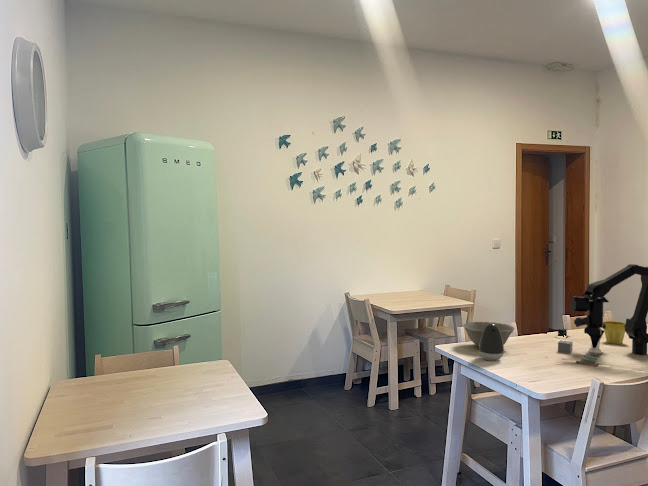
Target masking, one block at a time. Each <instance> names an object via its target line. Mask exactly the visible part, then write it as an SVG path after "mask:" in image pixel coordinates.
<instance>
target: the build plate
mask: <svg viewBox="0 0 648 486" xmlns="http://www.w3.org/2000/svg"><path fill="white" fill-rule="evenodd" d="M567 332H568V331H567V328H562V327H561V328H558V329H557V336H563V337H564V335H565V336H568V335H567Z"/></svg>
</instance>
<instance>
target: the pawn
mask: <svg viewBox="0 0 648 486" xmlns="http://www.w3.org/2000/svg"><path fill="white" fill-rule="evenodd" d="M600 344H601V339H600V340H599V342H598V344H597V346H596V348H593V346H592V343H591V344H590V345H591V347H589V348H588V351H589V352H591V354H592V353H595V354H598V355H599V354H601V352H602V349H600ZM601 355H602V354H601Z"/></svg>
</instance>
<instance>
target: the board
mask: <svg viewBox="0 0 648 486" xmlns="http://www.w3.org/2000/svg"><path fill="white" fill-rule="evenodd" d="M603 353H604V351H601V354H595V353H591V352H589V350H588V351H587V352H586V353H585V354H584V355H583V356H582V358H581V359H580V360H576V361H575V364H577V365H585V366H592V367H598V366H599V365H600V364H599V363H596V362H598V360H599V359H600V357H601V356H602V354H603Z"/></svg>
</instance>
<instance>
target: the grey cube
mask: <svg viewBox="0 0 648 486" xmlns="http://www.w3.org/2000/svg"><path fill="white" fill-rule="evenodd" d="M557 352H558V353H564V354H565V353H566V354H571V353H572V352H573V341H569V340H568V341H567V340H563V339H560V340H559V341H557Z"/></svg>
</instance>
